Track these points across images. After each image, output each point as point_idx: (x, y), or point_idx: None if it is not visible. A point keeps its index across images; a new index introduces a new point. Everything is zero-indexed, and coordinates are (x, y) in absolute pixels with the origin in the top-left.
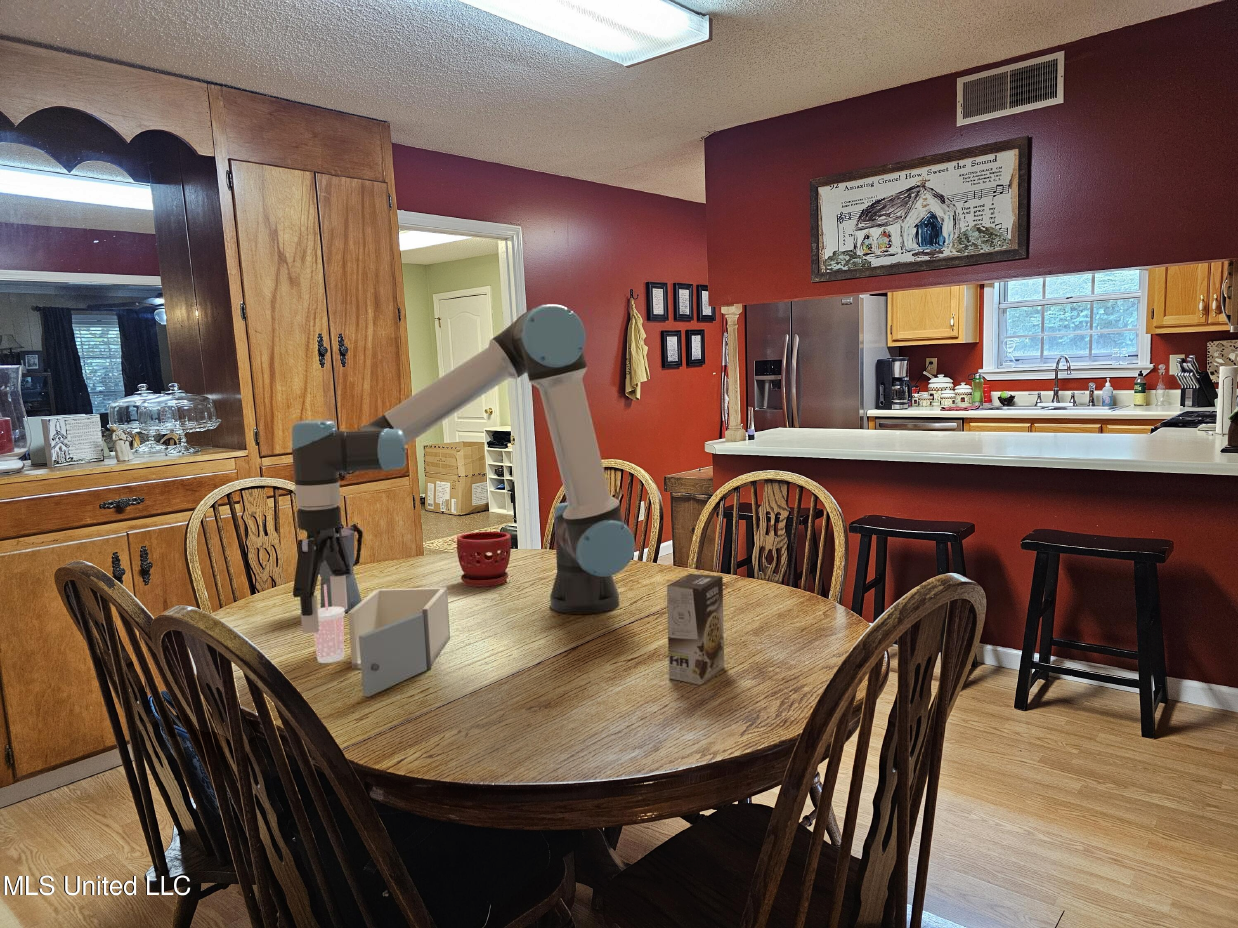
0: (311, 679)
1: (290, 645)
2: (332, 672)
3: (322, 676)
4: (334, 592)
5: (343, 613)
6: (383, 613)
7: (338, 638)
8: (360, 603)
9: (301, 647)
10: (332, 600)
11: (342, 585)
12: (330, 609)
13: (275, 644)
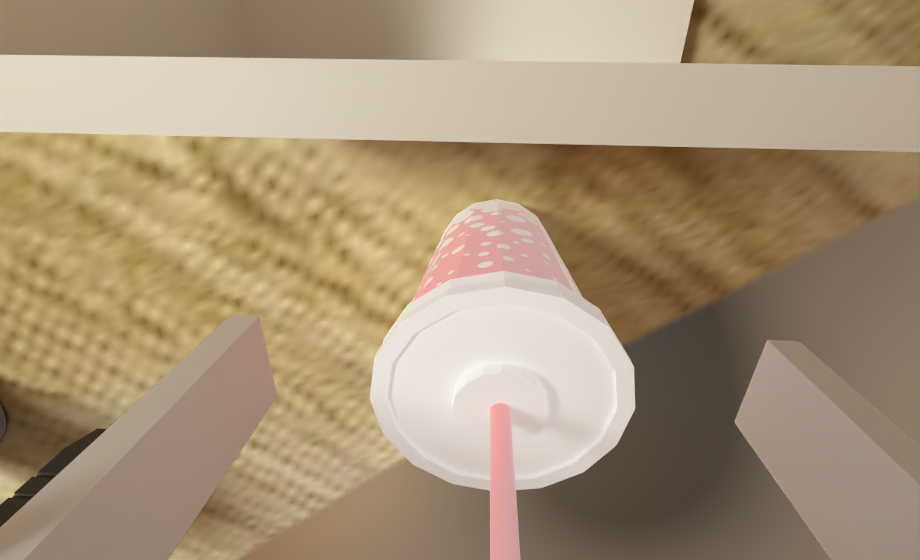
0: (744, 248)
1: (345, 431)
2: (683, 185)
3: (722, 213)
4: (198, 481)
5: (499, 279)
6: (143, 36)
7: (538, 240)
8: (528, 118)
9: (363, 394)
10: (242, 440)
11: (120, 485)
12: (480, 393)
13: (338, 472)
